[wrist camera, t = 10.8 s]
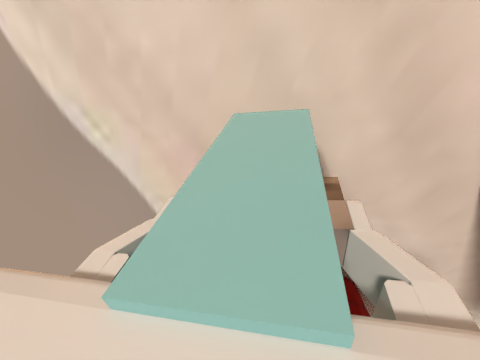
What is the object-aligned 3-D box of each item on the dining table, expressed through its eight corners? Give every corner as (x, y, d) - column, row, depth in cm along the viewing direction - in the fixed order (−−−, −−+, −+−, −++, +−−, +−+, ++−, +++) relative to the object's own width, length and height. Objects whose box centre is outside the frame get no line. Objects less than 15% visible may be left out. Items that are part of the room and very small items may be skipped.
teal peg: (308, 108, 13) (355, 335, 3) (305, 174, 16) (327, 420, 6) (234, 113, 14) (101, 297, 4) (242, 174, 17) (167, 382, 7)
